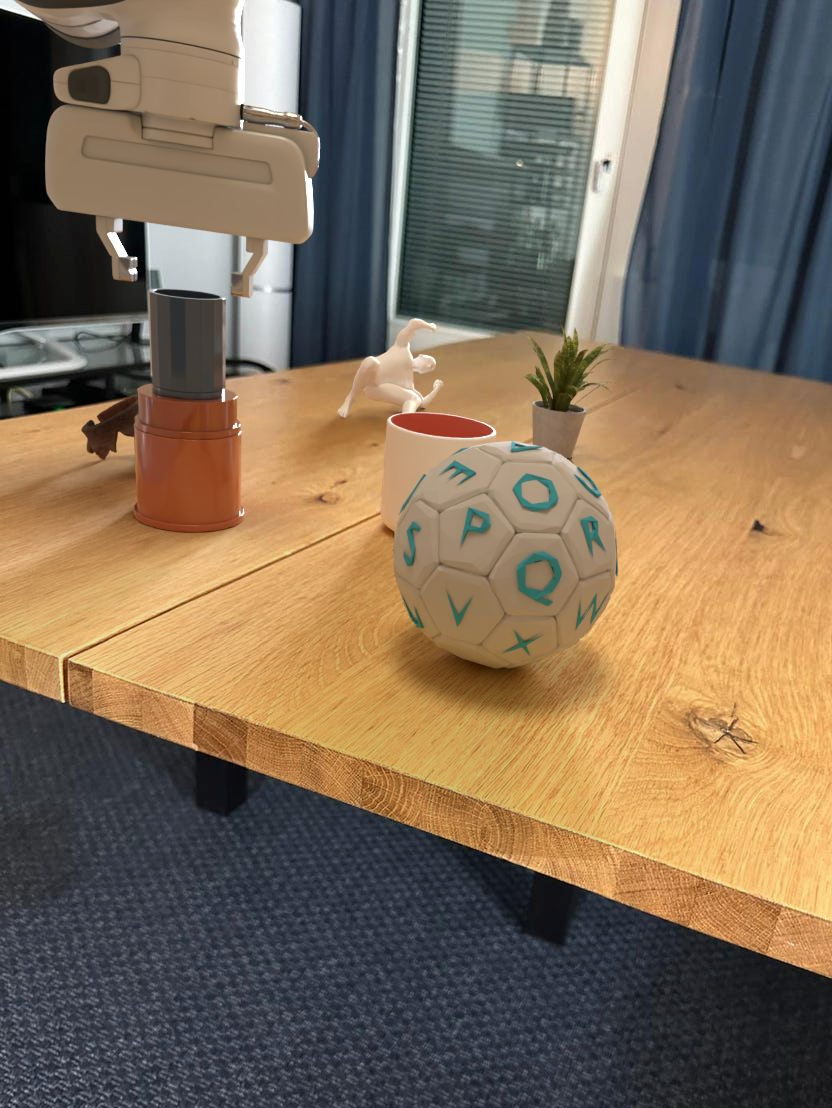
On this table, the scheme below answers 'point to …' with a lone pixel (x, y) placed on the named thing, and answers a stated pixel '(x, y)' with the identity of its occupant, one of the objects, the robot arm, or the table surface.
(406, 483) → the cup
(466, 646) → the puzzle ball
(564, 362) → the house plant
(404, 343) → the person figurine
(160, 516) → the orange stepped cylinder
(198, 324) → the slate cup
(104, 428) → the dark brown jagged part
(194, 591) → the table surface
